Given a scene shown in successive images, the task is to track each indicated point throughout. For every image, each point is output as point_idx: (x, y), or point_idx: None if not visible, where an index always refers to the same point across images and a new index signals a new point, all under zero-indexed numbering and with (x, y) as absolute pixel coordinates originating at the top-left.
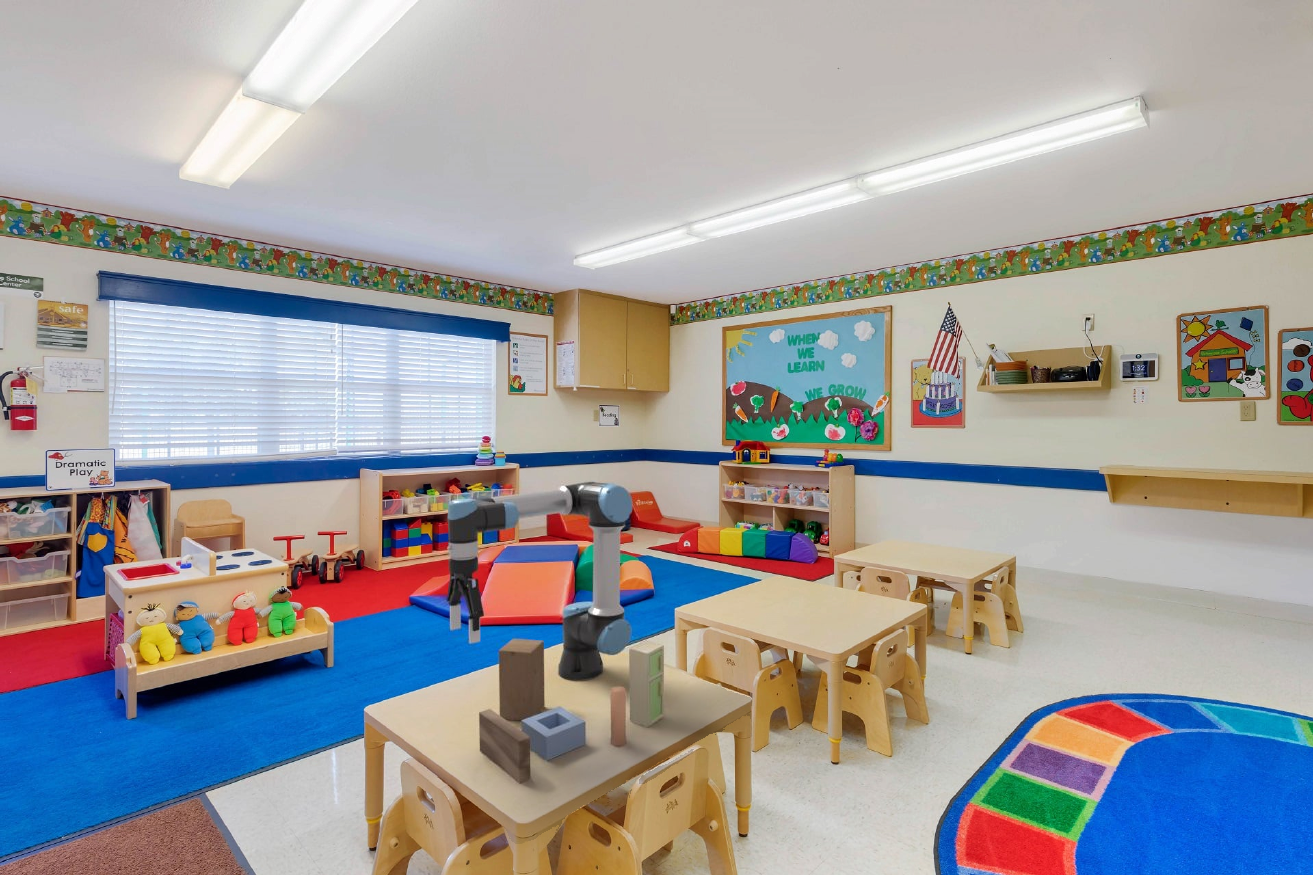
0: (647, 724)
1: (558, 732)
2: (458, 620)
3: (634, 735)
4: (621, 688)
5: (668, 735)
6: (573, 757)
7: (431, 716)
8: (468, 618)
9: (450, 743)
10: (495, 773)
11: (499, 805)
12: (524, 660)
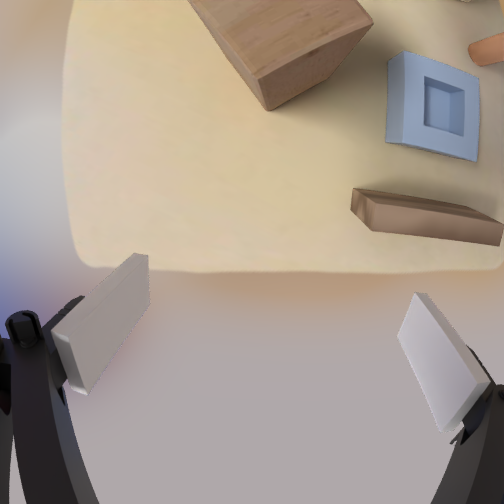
0: (468, 1)
1: (478, 136)
2: (128, 289)
3: (475, 29)
4: None
5: (494, 14)
6: None
7: (158, 207)
8: (453, 440)
9: (285, 232)
10: None
11: (470, 269)
12: (348, 42)
